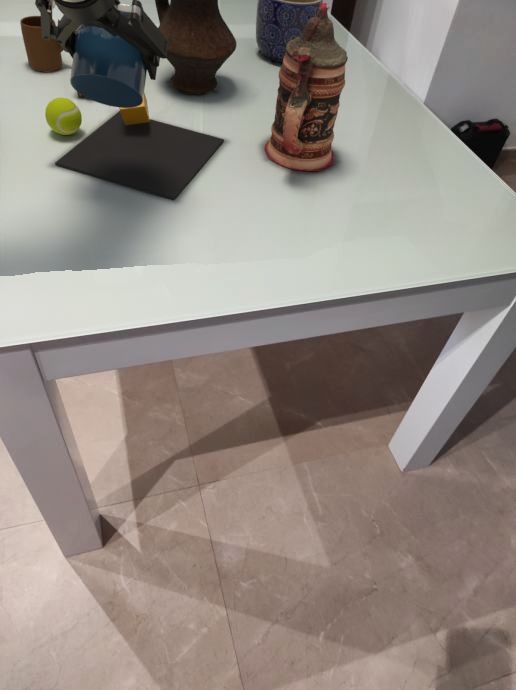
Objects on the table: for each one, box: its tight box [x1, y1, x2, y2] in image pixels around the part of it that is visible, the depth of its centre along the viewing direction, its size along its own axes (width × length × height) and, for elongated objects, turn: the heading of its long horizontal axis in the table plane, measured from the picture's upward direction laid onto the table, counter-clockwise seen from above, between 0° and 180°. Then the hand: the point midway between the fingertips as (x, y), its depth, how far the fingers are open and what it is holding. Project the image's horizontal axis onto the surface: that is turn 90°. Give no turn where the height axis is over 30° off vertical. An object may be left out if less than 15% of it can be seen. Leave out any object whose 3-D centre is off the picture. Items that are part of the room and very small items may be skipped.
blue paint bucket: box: [69, 23, 148, 108], centre depth 80 cm, size 11×11×8 cm
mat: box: [54, 110, 225, 201], centre depth 100 cm, size 24×24×1 cm
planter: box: [255, 0, 324, 64], centre depth 135 cm, size 16×16×15 cm
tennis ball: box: [44, 97, 83, 136], centre depth 100 cm, size 7×7×7 cm
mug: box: [19, 15, 76, 73], centre depth 118 cm, size 12×8×9 cm, turn 100°
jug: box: [154, 0, 237, 95], centre depth 112 cm, size 21×18×30 cm
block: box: [118, 91, 150, 125], centre depth 102 cm, size 5×5×5 cm
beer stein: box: [264, 2, 349, 172], centre depth 97 cm, size 17×28×18 cm
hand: (118, 65), depth 84 cm, fingers closed on blue paint bucket, 11 cm apart
